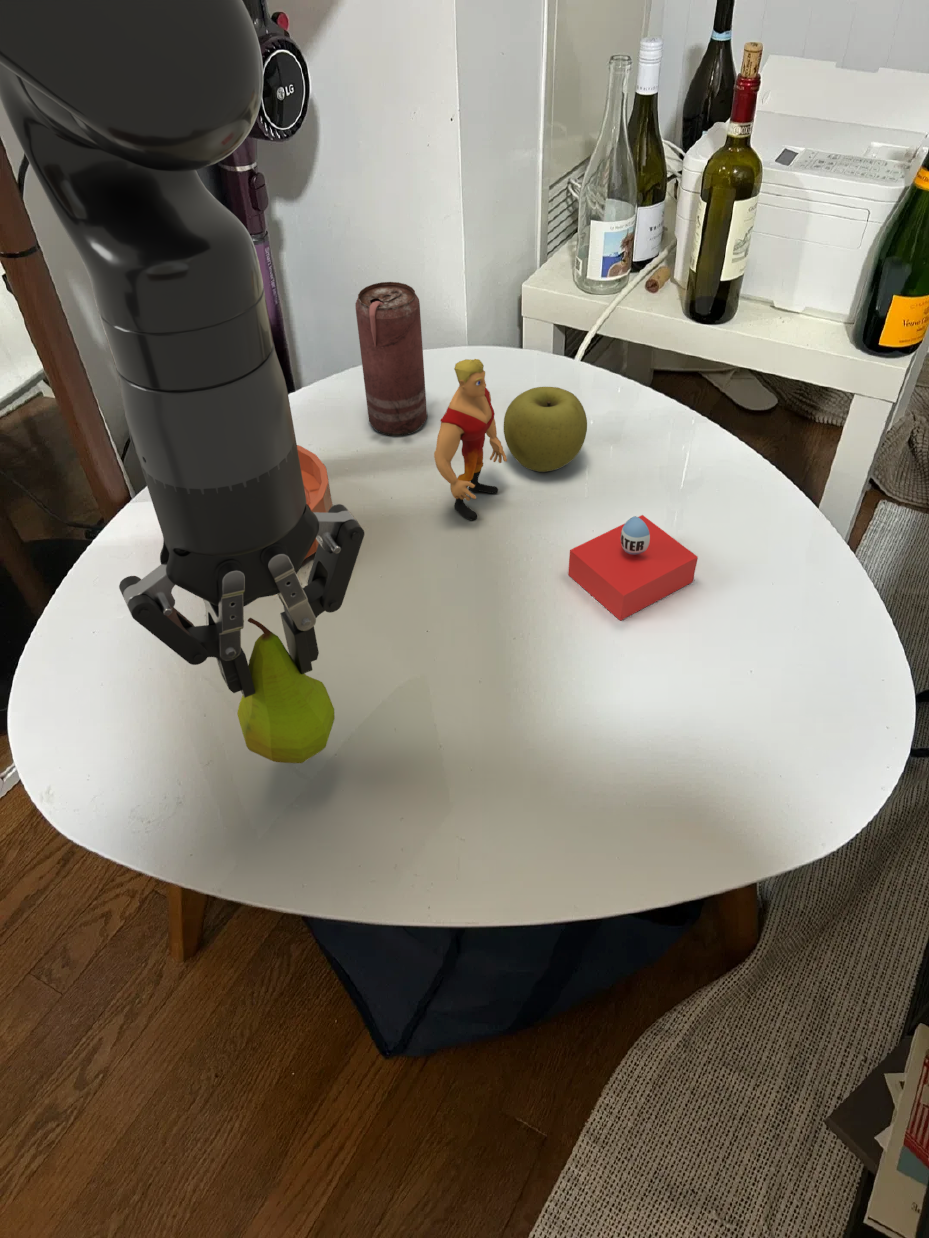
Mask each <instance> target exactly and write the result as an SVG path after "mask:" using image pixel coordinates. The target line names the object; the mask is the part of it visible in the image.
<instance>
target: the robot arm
mask: <svg viewBox="0 0 929 1238" xmlns="http://www.w3.org/2000/svg"><path fill="white" fill-rule="evenodd" d="M263 64H264V63H263V56H262V51H261V45H260V42H259V38H258V34H257V32H256V29H255V26H254V22H253V20H252V17H251V16H250V12H249V10H248V9H247V6H246V5H245V2H244V1H243V0H0V102H1V105H2V108H3V109H4V112H5V115H6V117H7V120H8V121H9V124H10V126H11V128H12V130H13V132H14V135H15V136H16V139H17V141H18V143H19V144H20V148H21V149H22V151H23V153H24V155H25V157H26V159H27V161H28V163H29V165H30V167H31V169H32V171H33V172H34V175H35V176H36V179H37V181H38V183H39V184H40V186H41V188H42V190H43V193H44V194H45V196H46V198H47V200H48V202H49V204H50V206H51V208H52V210H53V212H54V214H55V217H57V219H58V221H59V223H60V225H61V227H62V228H63V230H64V232H65V234H66V235H67V237H68V238H69V240H70V241H71V243H72V245H73V246H74V248H75V250H76V252H77V254H78V256H79V258H80V260H81V262H82V264H83V266H84V269H85V271H86V273H87V276H88V278H89V282H90V286H91V290H92V294H93V299H94V302H95V306H96V309H97V313H98V317H99V320H100V323H101V326H102V329H103V332H104V335H105V338H106V341H107V345H108V348H109V351H110V354H111V357H112V361H113V364H114V366H115V370H116V375H117V378H118V384H119V389H120V397H121V403H122V408H123V414H124V418H125V421H126V424H127V428H128V437H129V441H130V444H131V448H133V451H134V452H135V453H136V456H137V459H138V461H139V462H138V463H139V465H140V468H141V472H142V475H143V477H144V481H145V484H146V487H147V490H148V493H149V496H150V499H151V503H152V505H153V509H154V512H155V515H156V518H157V521H158V524H159V528H160V530H161V534H162V538H163V540H162V542H163V543H162V548H161V550H160V555H159V561H160V565H158V566H157V567H156V568H155V569H153V570H152V571H150V572H149V573H148V574H147V575H145V576H144V577H142V578H140V577H139V576H137V575H128V576H126V577H124V578H123V579H122V580H121V581H120V583H119V585H118V589H119V591H120V593H121V595H122V597H123V600H124V602H125V604H126V606H127V609H128V611H129V613H130V615H131V617H132V619H133V620H134V621H135V622H137V623H138V624H139V625H140V626H142V627H143V628H144V629H146V630H147V631H148V632H149V633H151V634H152V635H153V636H154V637H155V638H157V639H158V640H159V641H160V642H162V643H163V644H164V645H165V646H166V647H168V648H169V649H171V651H173V652H174V653H175V654H177V655H178V656H179V657H180V658H182V659H183V660H184V661H186V663H188V664H189V665H192V666H198V665H201V664H202V663H204V662H205V661H207V659H208V658H216V662H217V665H218V668H219V672H220V676H221V677H222V679H223V681H224V683H225V684H226V686H227V688H228V690H229V691H230V692H231V693H233V694H237V693H238V692H240V693H241V696H242V695H243V696H244V698H246V697H248V696H251V695H253V694H255V689H254V685H253V681H252V677H251V674H250V670H249V666H248V665H249V662H248V660H247V656H246V653H245V651H244V650H243V648H242V631H241V630H243V629H244V627H245V621H244V620H245V619H244V618H245V617H244V616H245V615H244V609H245V608H244V607H246V606H248V605H250V604H251V603H254V602H255V601H256V600H258V599H261V598H267V597H272V596H275V595H276V596H277V597H278V599H279V601H280V603H281V605H282V606H283V611H282V612H280V614H279V615H280V618H281V624H282V628H283V632H284V637H285V641H286V646H287V651H288V653H289V654H290V656H291V657H292V659H293V660H294V662H295V664H296V666H297V667H298V669H299V671H300V673H301V674H304V673H305V674H306V673H309V672H311V671H313V665H312V663H313V662H314V661H317V660H318V657H319V654H320V650H319V647H318V641H317V636H316V630H315V625H316V622H317V618H318V617H319V616H320V615H321V614H323V613H324V612H326V613H335V612H336V611H338V610H339V609H340V608H341V607H342V606H343V603H344V599H345V597H346V594H347V590H348V588H349V584H350V581H351V577H352V574H353V572H354V569H355V567H356V566H355V565H356V562H357V559H358V557H359V553H360V550H361V547H362V543H363V540H364V537H365V530H364V528H363V527H362V526H361V525H360V523H359V522H358V520H357V519H356V518H355V517H354V515H353V514H352V512H350V511H349V509H348V508H347V507H346V506H345V505H344V504H341V503H337V504H334V505H332V506H333V507H331V508H330V509H329V511H328V513H324V512H312V511H311V509H310V507H309V506H308V505H307V504H306V496H305V490H304V484H303V478H302V473H301V467H300V461H299V455H298V449H297V445H298V443H297V438H296V433H295V428H294V421H293V414H292V408H291V403H290V397H289V392H288V387H287V384H286V379H285V376H284V372H283V369H282V366H281V363H280V361H279V358H278V355H277V351H276V348H275V347H276V346H275V343H274V337H273V332H272V327H271V321H270V316H269V309H268V304H267V297H266V291H265V288H264V282H263V275H262V270H261V265H260V261H259V257H258V253H257V249H256V246H255V243H254V241H253V238H252V236H251V235H250V232H249V230H248V229H247V228H246V226H245V225H244V224H243V223H242V221H241V220H240V219H239V218H238V217H237V216H236V215H235V213H233V212H232V211H231V210H230V209H229V208H227V207H226V205H223V204H222V203H221V201H219V199H218V198H216V197H215V196H214V195H213V194H212V193H211V192H210V191H209V190H208V189H207V188H206V186H205V184H204V183H203V181H202V179H201V178H200V176H199V174H198V170H201V169H205V168H208V167H210V166H213V165H215V164H217V163H219V162H220V161H223V160H224V159H226V158H227V157H229V156H230V155H232V153H234V152H235V150H237V149H238V148H239V147H240V146H241V145H242V144H243V142H245V139H247V137H248V136H249V134H250V132H251V130H252V129H253V126H254V125H255V123H256V120H257V117H258V115H259V111H260V108H261V105H262V104H261V103H262V100H263V99H262V98H263V91H264V65H263ZM315 538H316V540H317V541H318V543H319V544H318V548H317V551H316V552H315V553H314V554H315V555H314V558H313V561H312V565H311V567H310V572H309V575H308V578H307V585H305V586H302V584H301V582H300V579H299V577H298V575H297V574H298V572H299V570H300V569H301V567H302V564H303V563H304V561H305V560H306V559H305V557H306V555H307V553H308V552H309V550H310V548H311V546H312V544H313V542H314V540H315ZM175 586H177V587H179V588H181V589H183V590H185V591H187V592H188V593H191V594H192V595H194V596H196V597H199V598H201V600H203V604H204V608H205V623H206V624H205V625H195V624H194V623H193V622H191V621H190V619H188V618H187V617H185V615H184V614H182V612H180V611H179V610H177V608H175V605H176V599H175V597H174V596H173V593H172V591H173V588H174V587H175Z"/></svg>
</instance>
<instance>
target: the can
mask: <svg viewBox="0 0 929 1238" xmlns="http://www.w3.org/2000/svg"><path fill="white" fill-rule="evenodd" d="M420 303H421V302H420V298H419V297H418V295H417V293H416V290H415V289H414V288H413V286H410V285H408V284H406V283H403V282H399V281H398V282H397V281H381V282H376V283H373V284H370V285H368V286H365V287H364V288H363V289H361V290H360V291H359V292H358V294H357V299H356V301H355V303H354V304H355V305H354V306H355V314H356V324H357V330H358V332H357V333H358V342H359V349H360V357H361V367H362V375H363V384H364V391H365V399H366V408H367V418H368V422H369V423H370V426H372V428H373V429H374V430H375V431H376V432H378V433H380V434H383V435H386V436H391V437H399V436H400V437H402V436H407V435H410V434H414V433H415V432H417V431H419V430H420V429H421V428H422V427H423V425H424V424H425V422H426V420H427V418H428V410H427V408H428V407H427V393H426V379H425V364H424V363H425V361H424V348H423V335H422V334H423V333H422V317H421V304H420Z"/></svg>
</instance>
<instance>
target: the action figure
mask: <svg viewBox="0 0 929 1238" xmlns="http://www.w3.org/2000/svg"><path fill="white" fill-rule="evenodd" d="M453 369H454V370H453V371H454V372H455V375H456V379H457V382H458V385H459V386H458V387H457V389H456V390H455V392H454V394H453V396H452V398H451V400H450V402H449V403H448V406H447V408H446V412H445V413H444V414H443V416H442V417H441V419H440V420H439V421H440V424H439V429H438V430H439V431H438V434H437V439H436V447H435V450H434V453H433V458H434V463H435V467H436V469H437V470H438V472H439V475H441V476H442V478H443V479H444V480H445V481H446V482H448V483H449V484H450V485H449V486H450V493H451V495H452V497H453V498H454V499H455V502H454V505H453V508H454V510H455V511H456V512H458V514H459V515H461V516H462V517H463V518H465V519H467V520H468V521H473V520H476V519H477V518H478V513H477V512H476V511H475V510H473V509H472V508H470V507H469V506H468V505H467V504H466V503H465V502H464V500H466V501H467V502H469V501H471V498H472V499H473V500H476V499H477V496H476V495H475V494H474V493H475V492H483V493H487V494H497V493H498V492H499V488H498V487H497V486H495V485H490V484H489V485H488V484H484V483H481V482H479V478H480V475H481V472H482V468H483V467H484V461H483V460H484V447H485V446H484V445H485V441H486V436H487V437H488V438H489V441H488V442H489V444H490V446H491V449H492V452H491V455H490V457H489V460H490V461H492V460H493V463H496V462H497V459H498V464H501V463H502V462H504V463H506V462H508V459H507V455H506V453H505V451H504V447H503V445H502V442H501V440H500V439H499V437H498V436H497V435H498V431H497V425H496V420H495V410H494V407H493V405H492V396H491V393H490V391H489V390H488V388H487V383H486V379H485V378H486V371H485V370H484V363H483V362H482V361H481V360H480V359H479V358H474V359H467V358H465V359H463V360H460V361H458V362H456V363H455V365H454V367H453ZM461 442H462V443H461ZM460 443H461V444H462V445H461V456H462V458H463V466H464V467H463V468H464V469H463V470H464V472H463V473H461V474H459V475H458V476H457V475H456V472H455V471H454V469H453V467H452V461H453V459H454V457H455V455H456V453H457V451H458V449H459V446H460Z"/></svg>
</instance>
